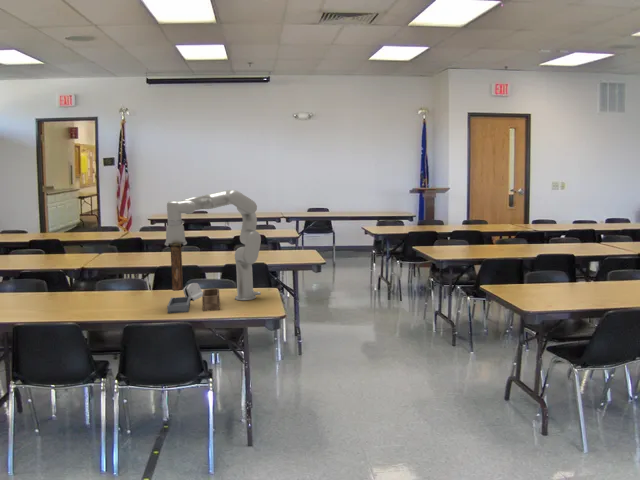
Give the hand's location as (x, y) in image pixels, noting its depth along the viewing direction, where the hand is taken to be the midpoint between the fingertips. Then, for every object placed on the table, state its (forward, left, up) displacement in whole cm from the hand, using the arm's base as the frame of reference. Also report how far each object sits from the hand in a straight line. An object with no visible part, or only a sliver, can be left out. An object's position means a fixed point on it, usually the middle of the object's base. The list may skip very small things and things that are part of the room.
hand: (176, 255), depth 309 cm
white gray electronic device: (-7, -27, -31) cm, 41 cm away
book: (0, 0, -19) cm, 19 cm away
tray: (0, 0, -30) cm, 30 cm away
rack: (-18, 0, -30) cm, 35 cm away
